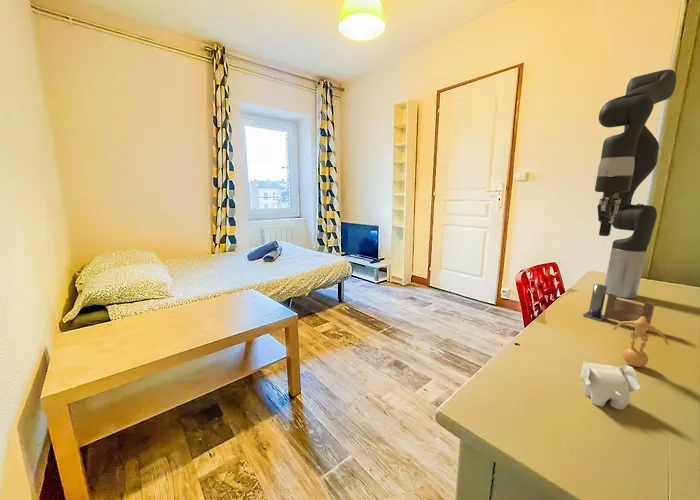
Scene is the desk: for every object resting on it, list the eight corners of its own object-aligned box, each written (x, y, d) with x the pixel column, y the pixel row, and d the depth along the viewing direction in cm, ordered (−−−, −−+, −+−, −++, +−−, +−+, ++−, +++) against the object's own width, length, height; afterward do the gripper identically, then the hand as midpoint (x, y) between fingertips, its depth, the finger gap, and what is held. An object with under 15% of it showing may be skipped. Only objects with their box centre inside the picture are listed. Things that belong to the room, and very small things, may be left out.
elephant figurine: (608, 384, 57) (615, 351, 56) (643, 421, 48) (653, 382, 47) (564, 378, 59) (569, 345, 58) (589, 412, 50) (597, 374, 48)
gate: (603, 317, 86) (608, 294, 85) (605, 315, 87) (609, 293, 86) (647, 328, 79) (653, 304, 78) (648, 327, 80) (654, 303, 79)
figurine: (661, 371, 62) (674, 318, 59) (658, 382, 58) (672, 326, 56) (610, 354, 68) (620, 305, 66) (604, 363, 64) (615, 312, 62)
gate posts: (589, 311, 93) (595, 281, 91) (655, 329, 81) (663, 295, 79) (583, 316, 89) (588, 284, 87) (650, 335, 78) (658, 299, 76)
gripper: (603, 175, 89) (594, 232, 92) (590, 175, 81) (581, 236, 85) (637, 174, 83) (626, 234, 87) (626, 173, 75) (615, 240, 79)
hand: (604, 235), depth 86 cm, fingers closed
